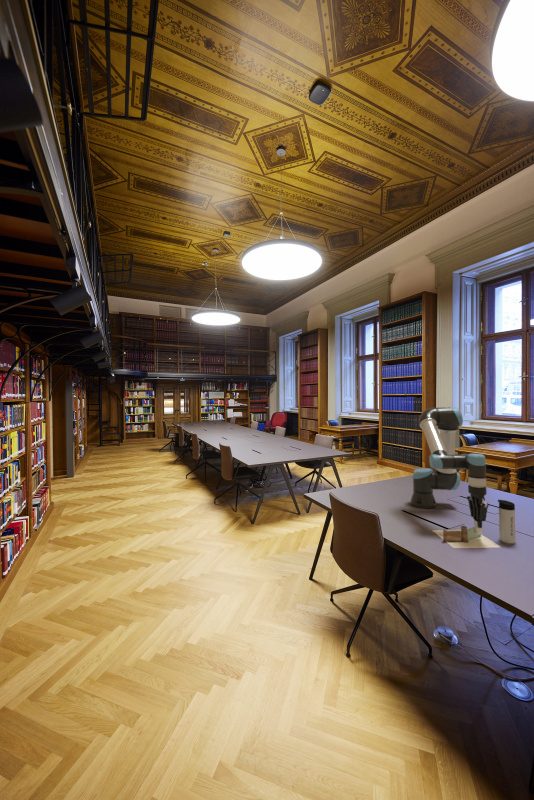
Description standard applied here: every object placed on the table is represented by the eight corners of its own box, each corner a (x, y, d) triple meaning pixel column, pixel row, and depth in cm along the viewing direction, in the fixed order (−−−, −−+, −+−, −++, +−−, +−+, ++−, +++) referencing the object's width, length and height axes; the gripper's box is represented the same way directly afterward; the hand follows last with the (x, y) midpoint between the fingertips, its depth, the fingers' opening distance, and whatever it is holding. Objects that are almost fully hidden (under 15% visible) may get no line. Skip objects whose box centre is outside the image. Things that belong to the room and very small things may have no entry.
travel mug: (499, 538, 159) (498, 498, 159) (515, 541, 155) (515, 500, 154) (498, 542, 154) (497, 501, 154) (515, 546, 150) (514, 504, 150)
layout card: (432, 531, 168) (432, 530, 168) (473, 530, 168) (473, 529, 168) (454, 549, 148) (453, 548, 148) (501, 548, 148) (501, 547, 148)
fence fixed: (442, 540, 157) (442, 526, 157) (465, 539, 157) (464, 525, 157) (444, 542, 154) (444, 528, 154) (468, 542, 154) (467, 527, 154)
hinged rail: (468, 540, 155) (468, 529, 155) (465, 538, 157) (464, 528, 157) (482, 535, 160) (481, 525, 160) (478, 534, 161) (478, 524, 161)
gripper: (494, 489, 151) (495, 538, 151) (476, 482, 164) (477, 528, 164) (478, 489, 151) (479, 539, 151) (461, 482, 164) (462, 528, 164)
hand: (478, 533), depth 157 cm, fingers closed
